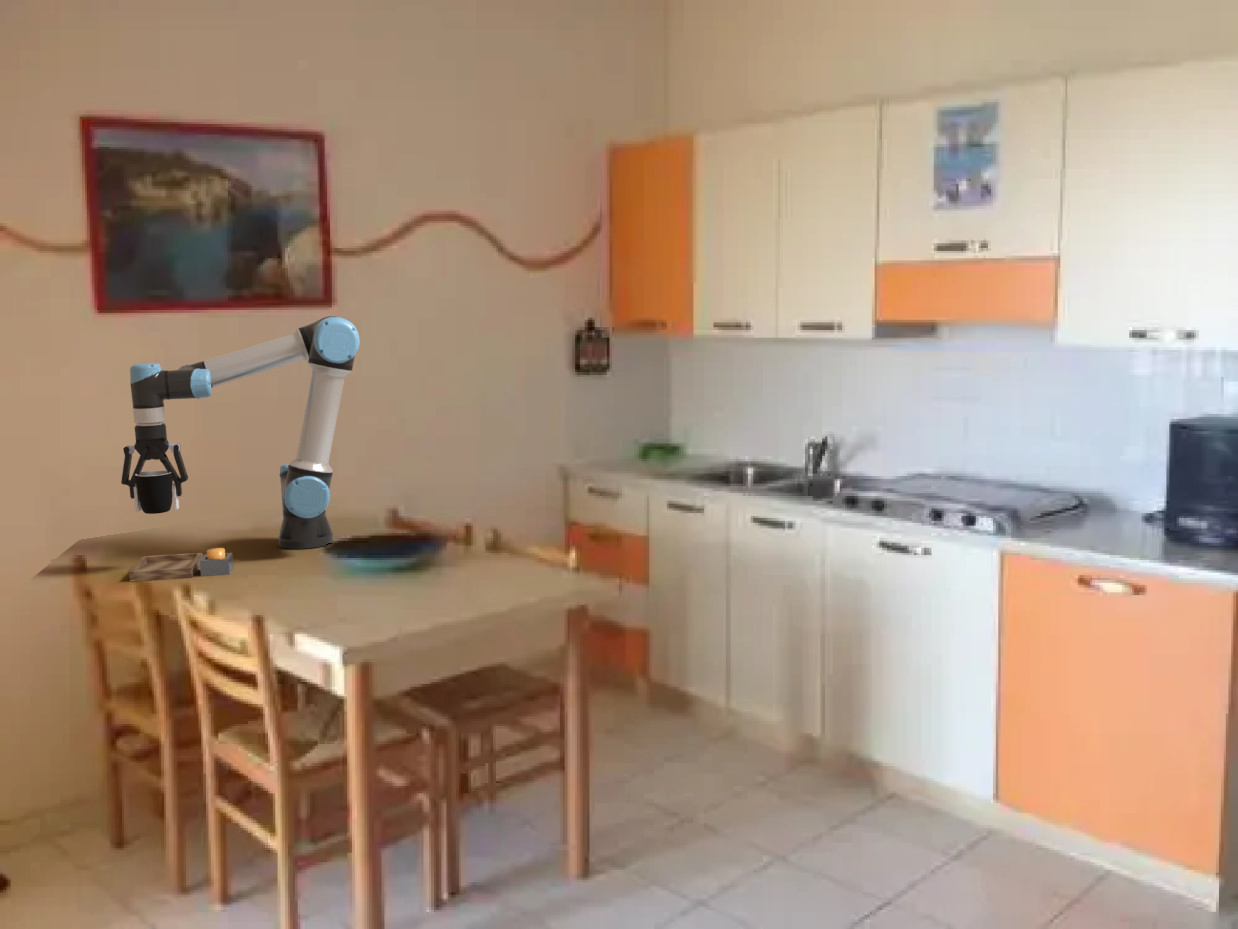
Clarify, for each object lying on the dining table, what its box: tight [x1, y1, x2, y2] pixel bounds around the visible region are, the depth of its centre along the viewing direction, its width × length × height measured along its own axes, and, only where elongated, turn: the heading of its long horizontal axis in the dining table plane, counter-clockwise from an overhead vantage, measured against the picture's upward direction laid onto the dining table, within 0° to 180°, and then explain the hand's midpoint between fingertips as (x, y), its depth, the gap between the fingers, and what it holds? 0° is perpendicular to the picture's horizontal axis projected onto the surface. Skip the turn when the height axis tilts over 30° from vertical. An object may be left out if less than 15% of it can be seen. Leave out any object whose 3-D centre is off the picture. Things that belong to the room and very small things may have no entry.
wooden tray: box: [128, 552, 204, 582], centre depth 312 cm, size 15×17×2 cm
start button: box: [206, 547, 226, 559], centre depth 310 cm, size 4×4×5 cm
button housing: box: [199, 552, 234, 577], centre depth 310 cm, size 7×7×4 cm
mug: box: [135, 469, 174, 515], centre depth 314 cm, size 12×9×10 cm
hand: (157, 509), depth 314 cm, fingers closed on mug, 9 cm apart
